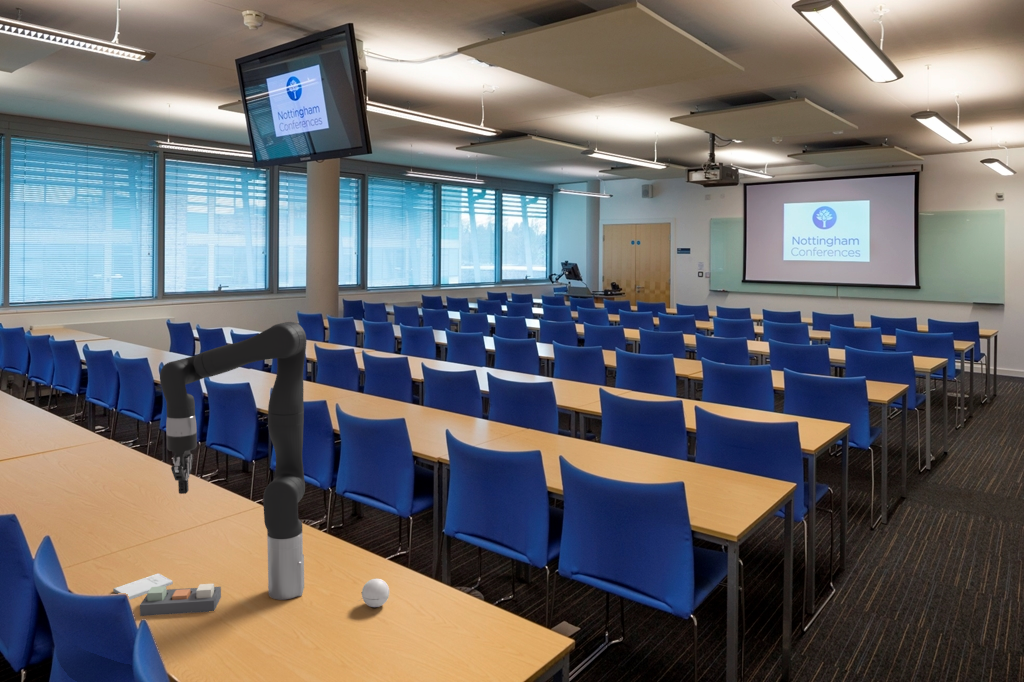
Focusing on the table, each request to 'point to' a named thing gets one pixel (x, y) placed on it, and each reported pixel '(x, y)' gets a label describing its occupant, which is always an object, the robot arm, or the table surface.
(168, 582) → the external hard drive
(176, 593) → the terracotta button
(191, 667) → the table surface
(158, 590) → the sage button
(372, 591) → the white ovoid
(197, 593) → the cream button
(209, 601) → the keypad
